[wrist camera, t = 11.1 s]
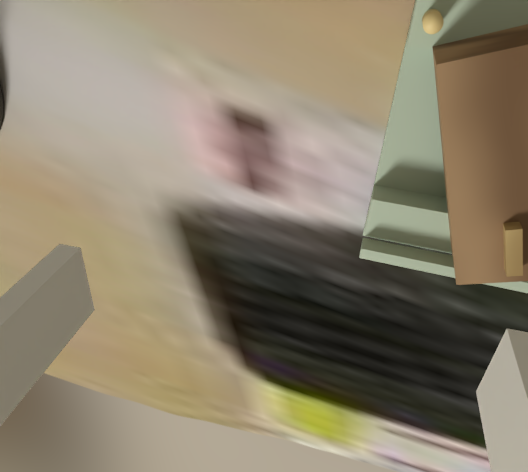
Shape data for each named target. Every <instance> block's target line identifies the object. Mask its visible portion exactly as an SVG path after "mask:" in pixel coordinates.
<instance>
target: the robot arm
mask: <svg viewBox="0 0 528 472" xmlns="http://www.w3.org/2000/svg"><path fill="white" fill-rule="evenodd" d="M2 118H3V96H2V90H1V85H0V127H1V123H2ZM93 311H94V306H93V301H92V297H91V292H90V288H89V283H88V279H87V275H86V270H85V266H84V261H83V257H82V252H81V248H79V247H74V246H68V245H63V244H59V245H58V246H57V247H55V248H54V249H53V250H52V251H51V252H50V253H49V254H48V255H47V256H46V257H44V258H43V259H42V260H41V261H40V262H39V263H38V264H37V265H36V266H35V267H33V268H32V269H31V270H30V271H29V272H28V273H27V274H26V275H25V276H24V277H22V278H21V279H20V280H19V281H18V282H17V283H16V284H15V285H14V286H13V287H11V288H10V289H9V290H8V291H7V292H6V293H5V294H4V295H3V296H2V297H0V426H1V425H2V424H3V422H4V421H5V420H6V419H7V417H8V416H9V415H10V414H11V412H12V411H13V410H14V409H15V407H16V406H17V405H18V404H19V402H20V401H21V400H22V399H23V397H24V396H25V395H26V394H27V392H28V391H29V390H30V389H31V388H32V386H33V385H34V384H35V383H36V382H37V380H38V379H39V378H40V377H41V375H42V374H43V373H44V372H45V370H46V369H47V368H48V367H49V365H50V364H51V363H52V362H53V361H54V359H55V358H56V357H57V356H58V354H59V353H60V352H61V351H62V349H63V348H64V347H65V346H66V344H67V343H68V342H69V341H70V339H71V338H72V337H73V336H74V335H75V333H76V332H77V331H78V330H79V328H80V327H81V326H82V325H83V323H84V322H85V321H86V320H87V318H88V317H89V316H90V315H91V314H92V312H93ZM476 394H477V399H478V404H479V410H480V415H481V420H482V426H483V431H484V436H485V442H486V447H487V453H488V458H489V463H490V469H491V472H528V332H522V331H517V330H512V329H506V331H505V333H504V335H503V337H502V339H501V342H500V344H499V346H498V348H497V350H496V352H495V354H494V356H493V358H492V360H491V362H490V364H489V366H488V368H487V370H486V372H485V374H484V376H483V379H482V381H481V383H480V385H479V387H478V389H477V391H476Z"/></svg>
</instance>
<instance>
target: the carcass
mask: <svg viewBox="0 0 528 472" xmlns="http://www.w3.org/2000/svg"><path fill="white" fill-rule="evenodd" d="M526 24H528V0H415V4H414V9H413V13H412V17H411V22H410V26H409V31H408V35H407V40H406V44H405V49H404V53H403V58H402V62H401V67H400V71H399V75H398V80H397V84H396V89H395V93H394V98H393V102H392V107H391V111H390V116H389V120H388V124H387V129H386V133H385V138H384V142H383V147H382V151H381V156H380V160H379V165H378V169H377V174H376V178H375V182H374V187H373V191H372V196H371V200H370V205H369V209H368V214H367V218H366V223H365V227H364V231H363V236H368V237H373V238H378V239H383V240H388V241H393V242H398V243H403V244H408V245H413V246H418V247H423V248H428V249H433V250H438V251H443V252H448V253H452V248H451V241H450V230H449V219H448V209H447V198H446V187H445V177H444V166H443V155H442V144H441V134H440V123H439V112H438V101H437V91H436V80H435V69H434V59H433V48H432V47H433V46H437V45H441V44H445V43H450V42H454V41H458V40H462V39H466V38H471V37H475V36H479V35H483V34H488V33H492V32H496V31H500V30H505V29H509V28H513V27H517V26H522V25H526ZM359 258H363V259H367V260H372V261H377V262H382V263H386V264H391V265H396V266H401V267H406V268H410V269H415V270H420V271H425V272H429V273H434V274H439V275H444V276H448V277H453V278H455V271H454V263H453V256H452V255H447V254H442V253H437V252H432V251H427V250H422V249H417V248H412V247H407V246H402V245H397V244H392V243H387V242H382V241H377V240H372V239H367V238H363V241H362V245H361V251H360V256H359ZM482 284H487V285H491V286H496V287H501V288H506V289H510V290H515V291H520V292H525V293H528V281H521V282H502V283H482Z"/></svg>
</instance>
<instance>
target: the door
mask: <svg viewBox="0 0 528 472" xmlns="http://www.w3.org/2000/svg"><path fill="white" fill-rule="evenodd" d="M432 48H433V59H434V69H435V80H436V91H437V101H438V112H439V123H440V134H441V144H442V155H443V166H444V177H445V187H446V198H447V209H448V219H449V230H450V241H451V248H452V256H453V263H454V271H455V278H456V285H463V284H482V283H502V282H521V281H528V24H526V25H522V26H517V27H513V28H509V29H505V30H500V31H496V32H492V33H488V34H483V35H479V36H475V37H471V38H466V39H462V40H458V41H454V42H450V43H445V44H441V45H437V46H433V47H432Z"/></svg>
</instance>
